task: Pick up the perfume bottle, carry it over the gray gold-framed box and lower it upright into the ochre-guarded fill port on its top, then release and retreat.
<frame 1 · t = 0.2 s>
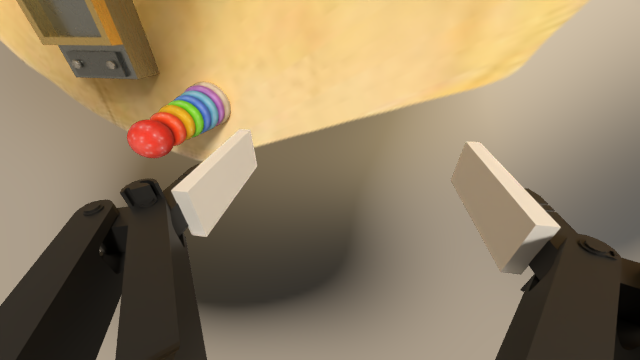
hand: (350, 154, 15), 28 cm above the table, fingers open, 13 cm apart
stacking toy: (213, 102, 44), on the table
gray gold-framed box: (104, 13, 38), on the table
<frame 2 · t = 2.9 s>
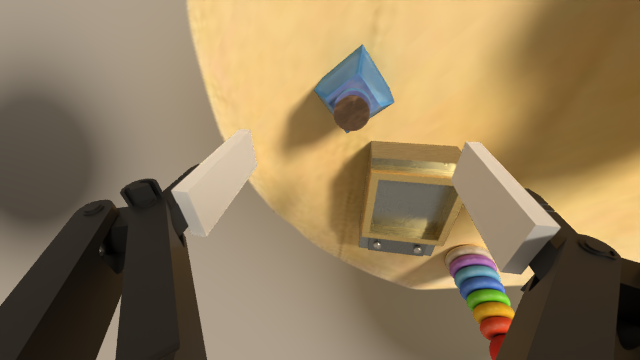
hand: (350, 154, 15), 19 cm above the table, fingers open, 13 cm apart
stacking toy: (465, 255, 45), on the table
perfume bottle: (355, 82, 30), on the table
gray gold-framed box: (400, 192, 38), on the table
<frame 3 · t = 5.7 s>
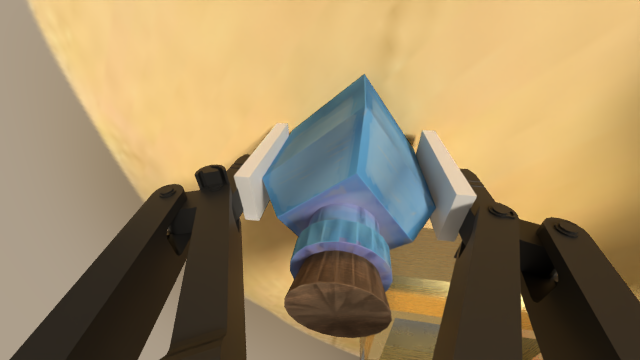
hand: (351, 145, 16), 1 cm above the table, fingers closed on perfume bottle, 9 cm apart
perfume bottle: (351, 138, 17), on the table, touching gripper
gray gold-framed box: (423, 287, 25), on the table
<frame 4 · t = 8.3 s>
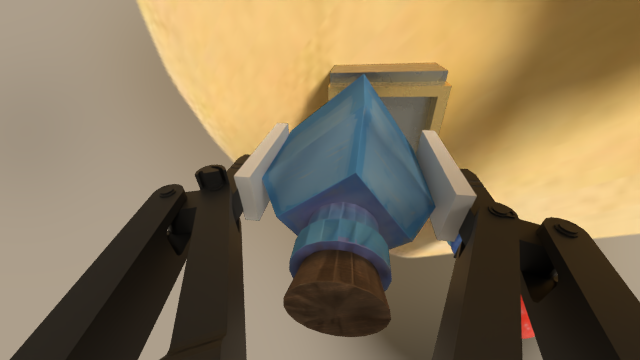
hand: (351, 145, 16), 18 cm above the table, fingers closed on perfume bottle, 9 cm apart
stacking toy: (458, 211, 39), on the table
perfume bottle: (351, 138, 17), point 16 cm above the table, touching gripper
gray gold-framed box: (376, 133, 33), on the table
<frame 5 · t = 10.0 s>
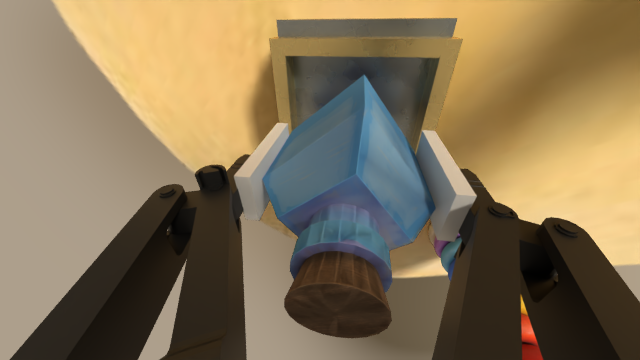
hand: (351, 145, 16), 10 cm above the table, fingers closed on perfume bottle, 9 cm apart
stacking toy: (458, 225, 31), on the table
perfume bottle: (351, 138, 17), point 9 cm above the table, touching gripper
gray gold-framed box: (354, 121, 25), on the table
when the fingers open (8 cm above the table, at t = 11.3 s): perfume bottle drops 2 cm, resting on gray gold-framed box.
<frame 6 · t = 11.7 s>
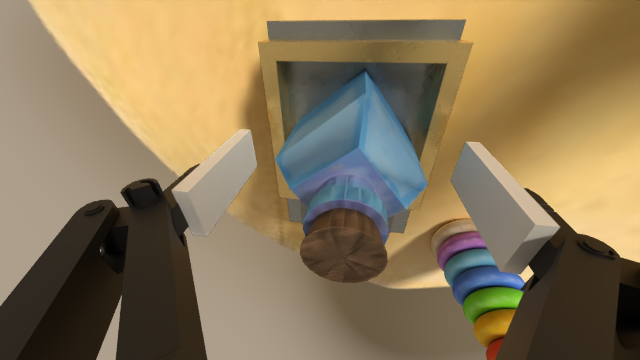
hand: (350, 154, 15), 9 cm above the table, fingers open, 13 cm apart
stacking toy: (462, 236, 30), on the table
perfume bottle: (353, 128, 18), point 5 cm above the table, touching gray gold-framed box
gray gold-framed box: (352, 128, 23), on the table
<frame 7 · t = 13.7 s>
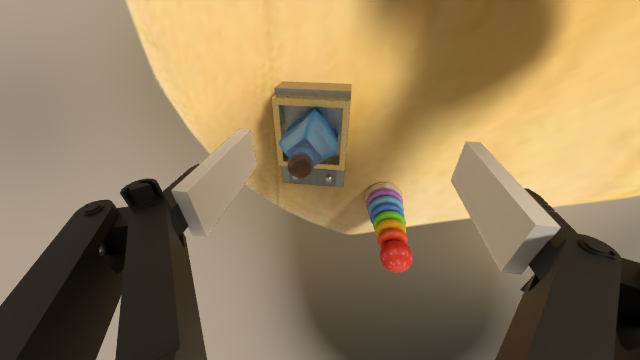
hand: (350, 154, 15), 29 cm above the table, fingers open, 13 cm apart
stacking toy: (382, 194, 51), on the table
perfume bottle: (312, 131, 40), point 5 cm above the table, touching gray gold-framed box
gray gold-framed box: (316, 132, 45), on the table
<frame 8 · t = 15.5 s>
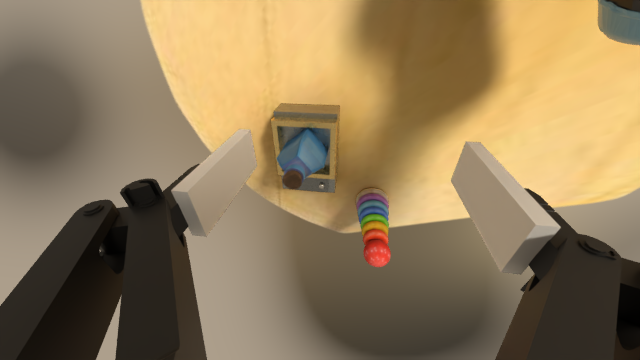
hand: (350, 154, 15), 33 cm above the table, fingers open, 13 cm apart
stacking toy: (371, 198, 58), on the table
perfume bottle: (306, 146, 46), point 5 cm above the table, touching gray gold-framed box
gray gold-framed box: (311, 145, 51), on the table
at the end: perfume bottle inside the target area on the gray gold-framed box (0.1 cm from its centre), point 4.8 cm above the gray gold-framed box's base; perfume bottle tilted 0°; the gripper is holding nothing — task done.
